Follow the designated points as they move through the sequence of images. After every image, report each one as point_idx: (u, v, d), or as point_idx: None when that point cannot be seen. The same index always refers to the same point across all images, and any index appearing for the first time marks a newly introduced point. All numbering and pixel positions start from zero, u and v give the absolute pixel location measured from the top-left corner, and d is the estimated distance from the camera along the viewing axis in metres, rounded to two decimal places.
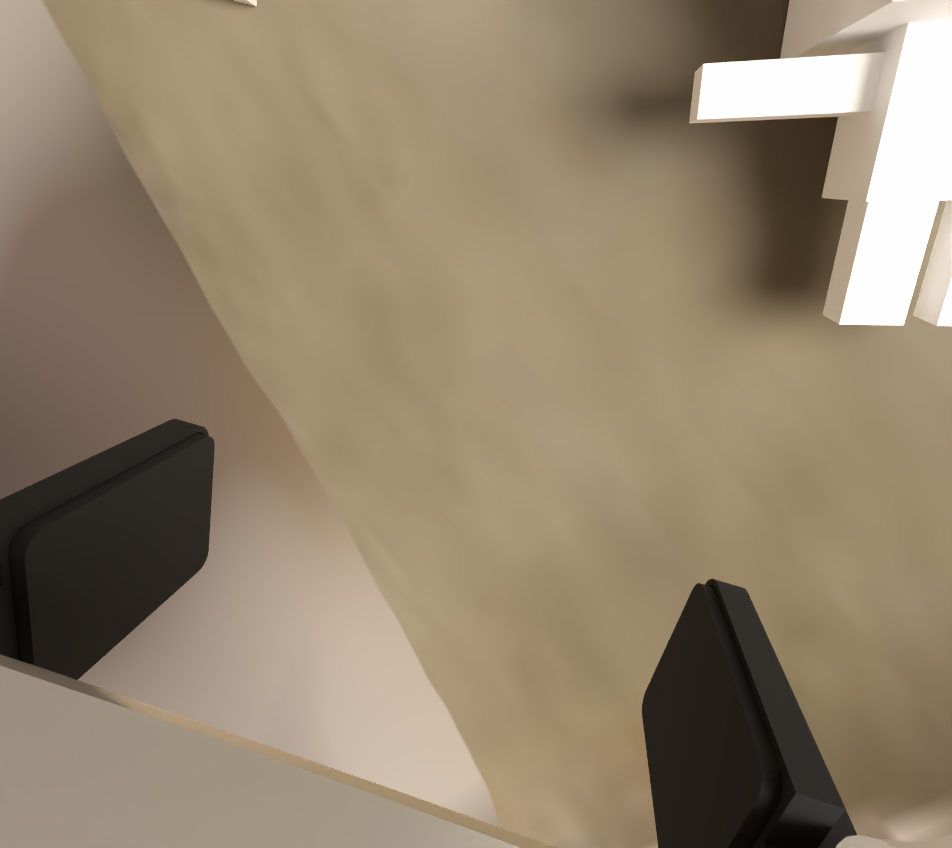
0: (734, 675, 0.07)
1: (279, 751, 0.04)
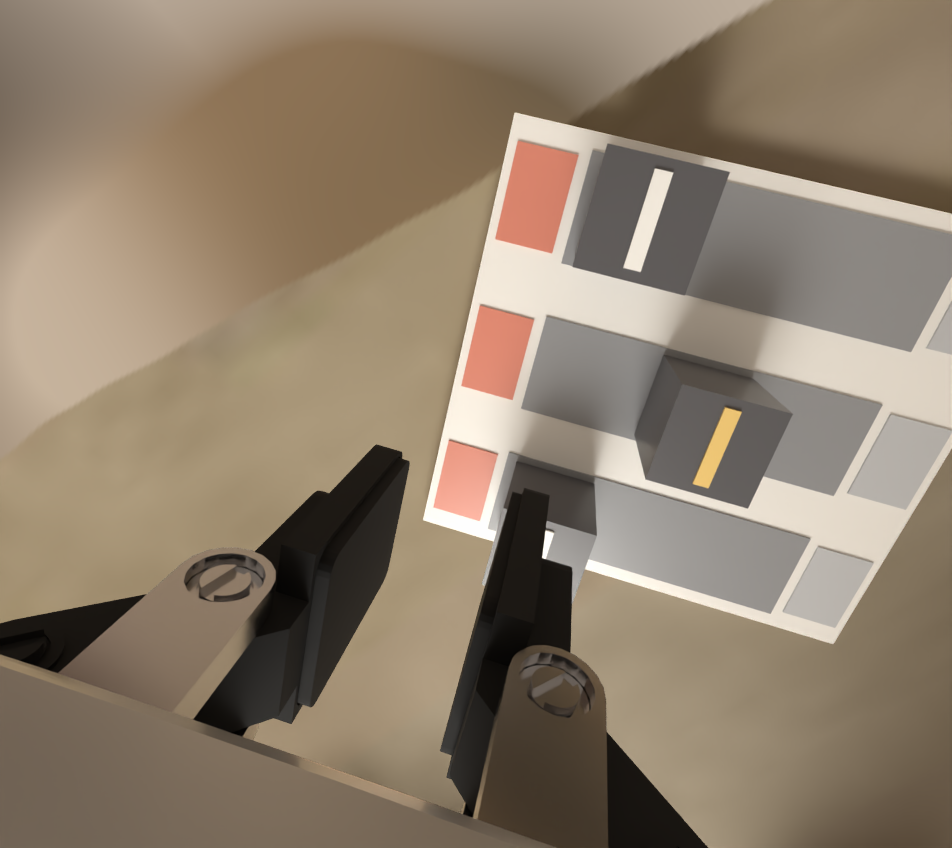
0: (500, 547, 0.09)
1: (279, 751, 0.04)
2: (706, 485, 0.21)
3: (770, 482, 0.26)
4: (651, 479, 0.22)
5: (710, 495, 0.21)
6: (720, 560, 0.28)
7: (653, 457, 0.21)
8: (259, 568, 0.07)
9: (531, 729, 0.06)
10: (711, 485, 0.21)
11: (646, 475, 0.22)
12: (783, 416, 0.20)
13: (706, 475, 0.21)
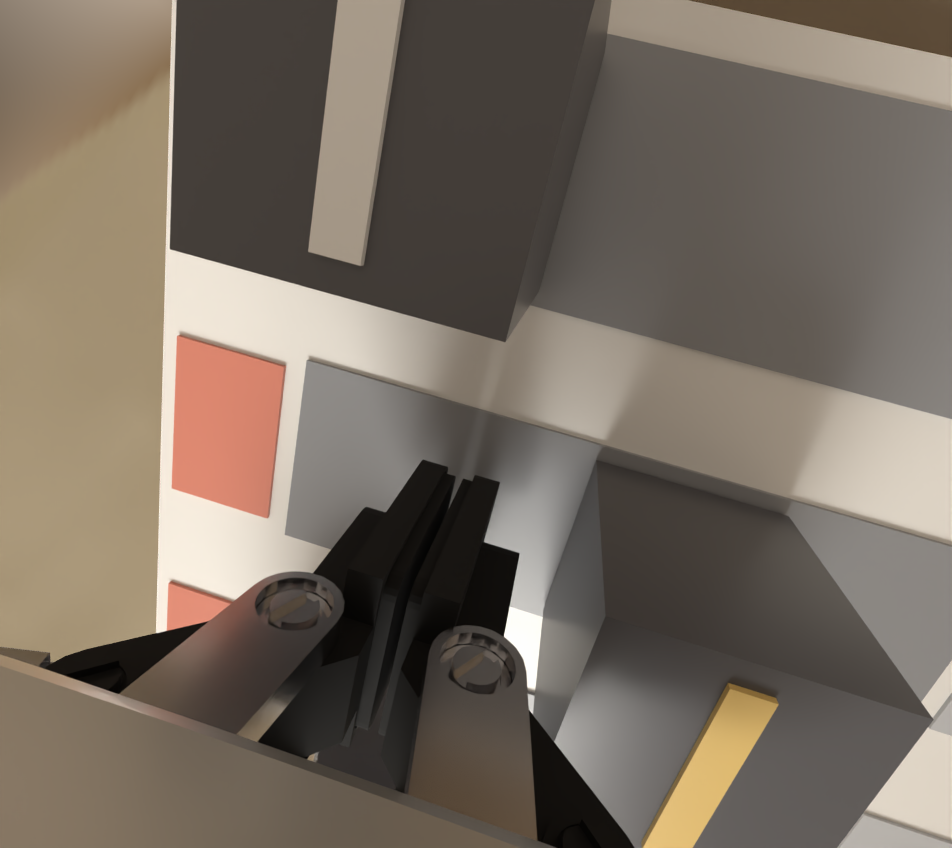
0: (441, 531, 0.09)
1: (279, 751, 0.04)
2: None
3: None
4: None
5: None
6: None
7: None
8: (326, 593, 0.07)
9: (455, 711, 0.06)
10: None
11: None
12: (902, 722, 0.07)
13: (677, 836, 0.08)
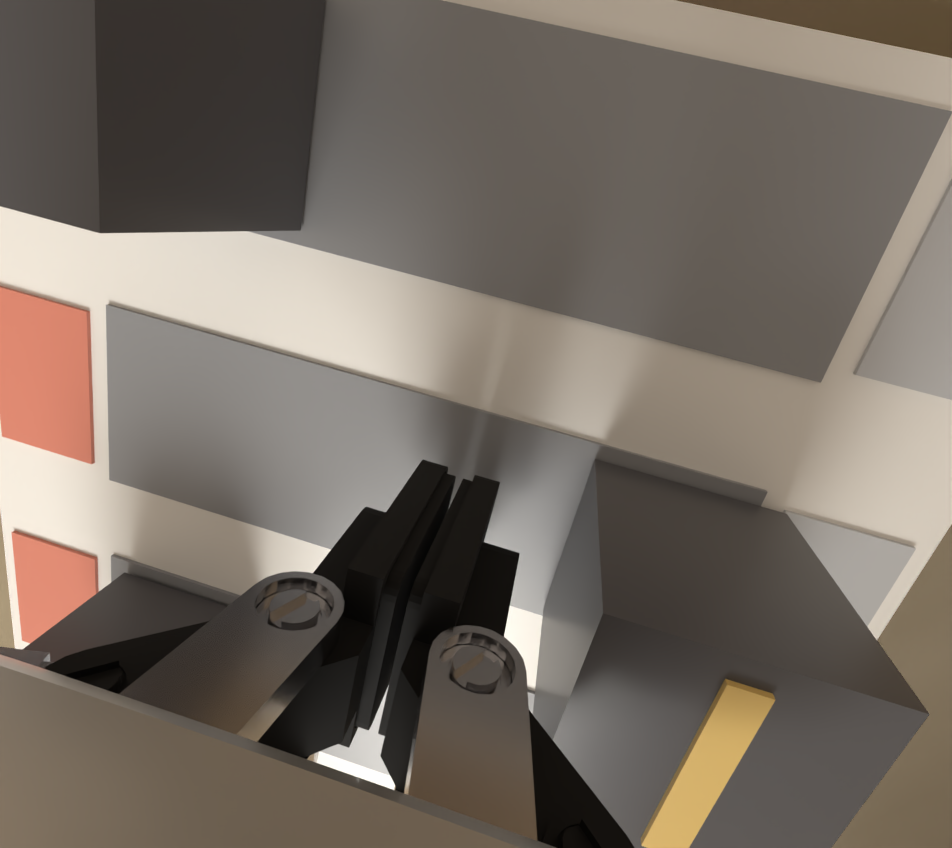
0: (441, 531, 0.09)
1: (279, 752, 0.04)
2: None
3: None
4: None
5: None
6: None
7: None
8: (325, 593, 0.07)
9: (455, 711, 0.06)
10: None
11: None
12: (899, 716, 0.07)
13: (676, 832, 0.08)
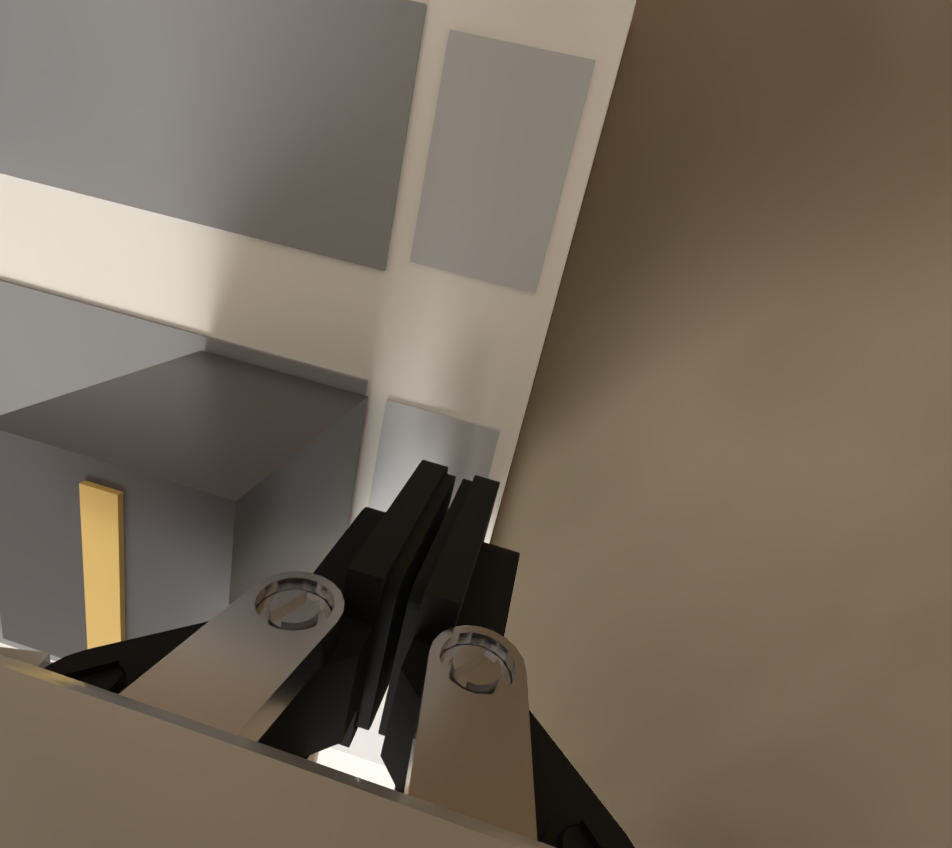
0: (441, 531, 0.09)
1: (279, 752, 0.04)
2: None
3: None
4: (15, 638, 0.09)
5: None
6: None
7: None
8: (326, 593, 0.07)
9: (455, 711, 0.06)
10: None
11: (7, 628, 0.09)
12: (219, 506, 0.08)
13: (105, 638, 0.09)
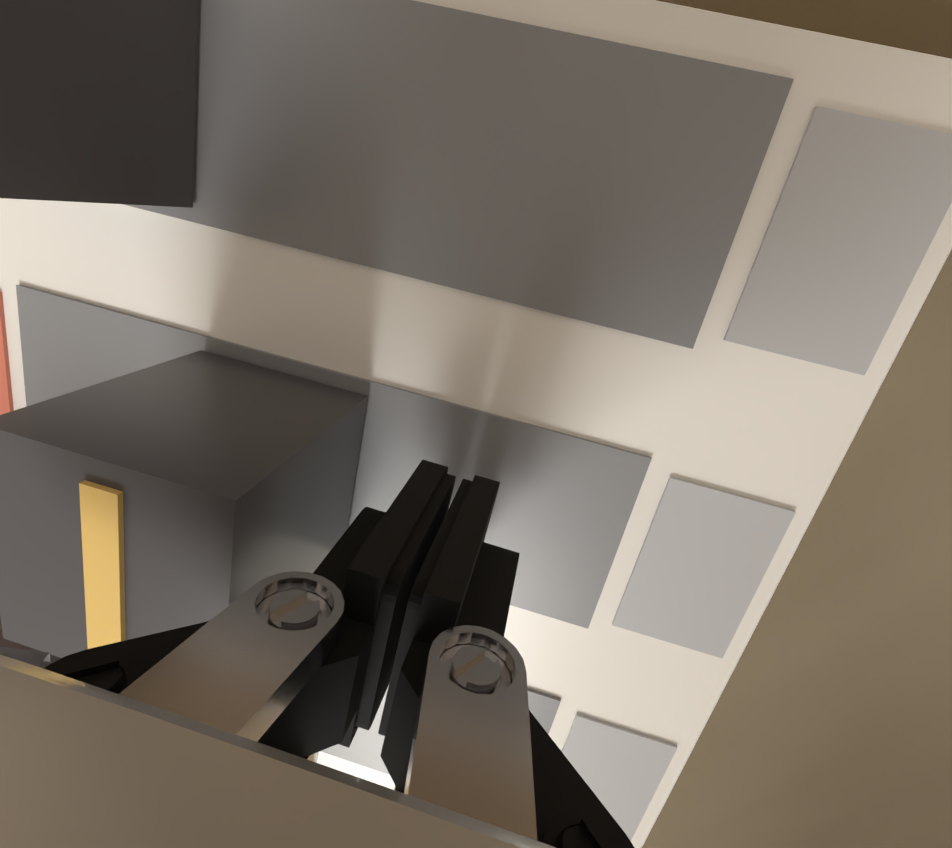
0: (441, 531, 0.09)
1: (279, 751, 0.04)
2: None
3: None
4: (15, 638, 0.09)
5: None
6: None
7: None
8: (325, 593, 0.07)
9: (455, 711, 0.06)
10: None
11: (7, 628, 0.09)
12: (219, 506, 0.08)
13: (106, 638, 0.09)
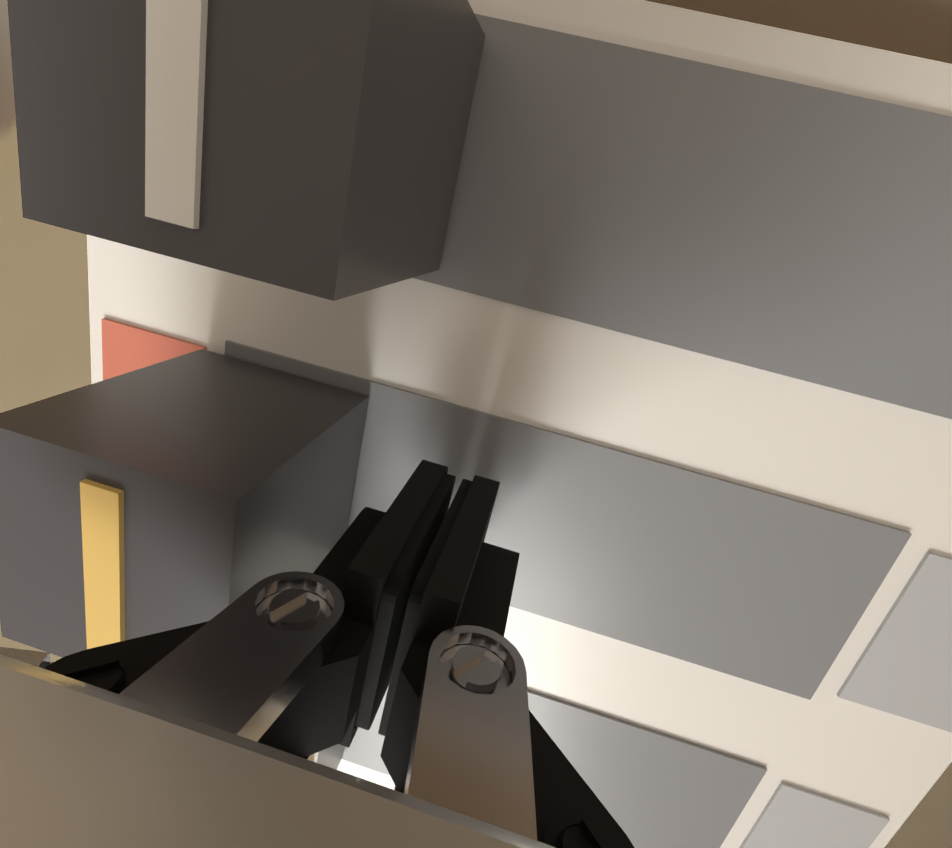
0: (441, 531, 0.09)
1: (279, 751, 0.04)
2: None
3: (686, 666, 0.13)
4: (14, 636, 0.09)
5: None
6: (603, 790, 0.15)
7: (2, 588, 0.09)
8: (325, 593, 0.07)
9: (455, 711, 0.06)
10: None
11: (6, 626, 0.09)
12: (220, 506, 0.08)
13: (105, 636, 0.09)
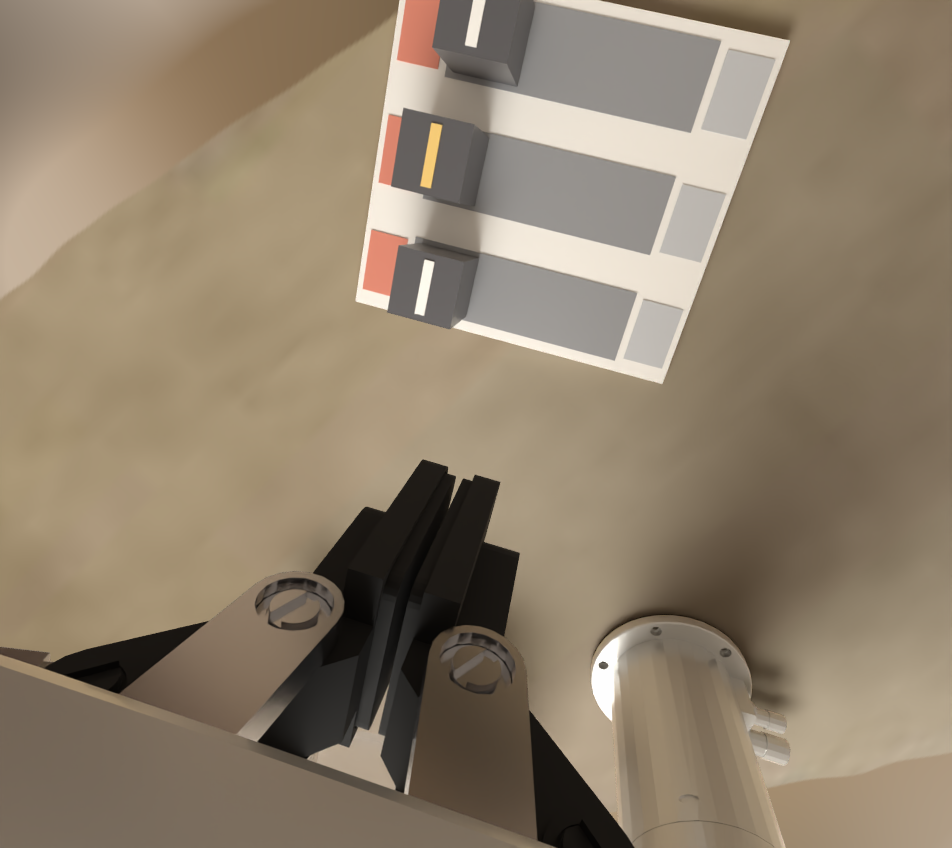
0: (441, 531, 0.09)
1: (279, 752, 0.04)
2: (428, 186, 0.31)
3: (605, 247, 0.35)
4: (394, 186, 0.31)
5: (433, 195, 0.31)
6: (575, 318, 0.37)
7: (394, 168, 0.31)
8: (325, 593, 0.07)
9: (455, 711, 0.06)
10: (432, 187, 0.31)
11: (391, 184, 0.31)
12: (469, 127, 0.30)
13: (427, 178, 0.31)
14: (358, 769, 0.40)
